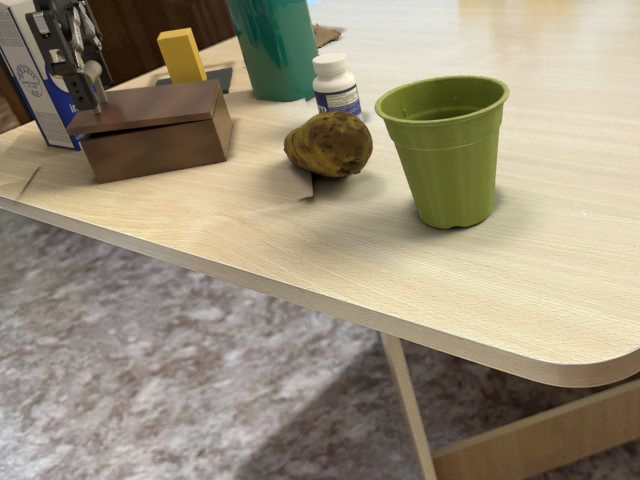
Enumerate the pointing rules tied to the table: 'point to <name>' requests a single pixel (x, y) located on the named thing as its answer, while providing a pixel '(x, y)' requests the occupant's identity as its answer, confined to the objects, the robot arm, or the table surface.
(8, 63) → the milk carton
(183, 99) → the lid
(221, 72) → the mat
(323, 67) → the pill bottle
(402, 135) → the plant pot
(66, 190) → the table surface
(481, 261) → the table surface
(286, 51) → the pitcher
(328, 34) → the jawbone
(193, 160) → the brown wooden box
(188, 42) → the block
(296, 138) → the potato
